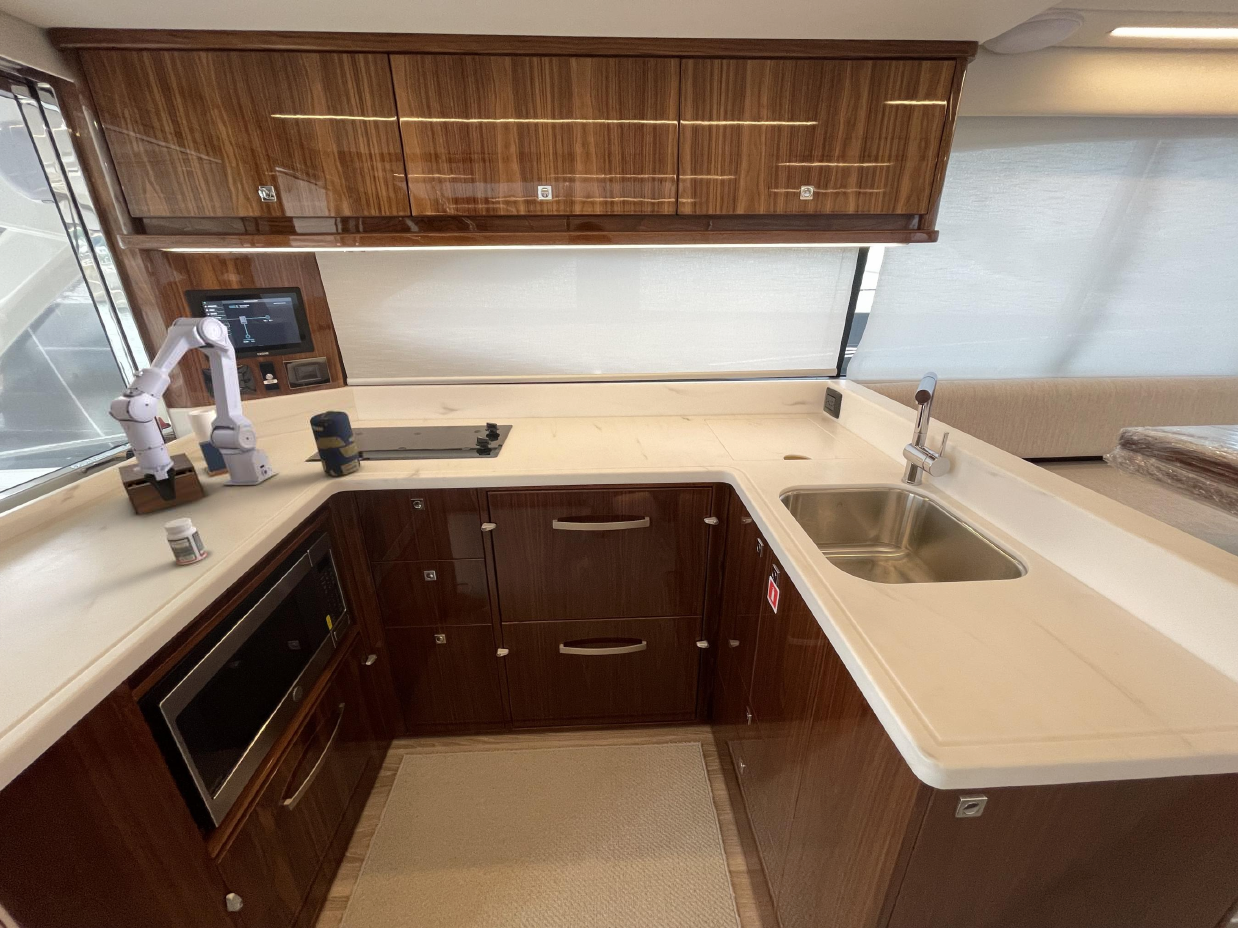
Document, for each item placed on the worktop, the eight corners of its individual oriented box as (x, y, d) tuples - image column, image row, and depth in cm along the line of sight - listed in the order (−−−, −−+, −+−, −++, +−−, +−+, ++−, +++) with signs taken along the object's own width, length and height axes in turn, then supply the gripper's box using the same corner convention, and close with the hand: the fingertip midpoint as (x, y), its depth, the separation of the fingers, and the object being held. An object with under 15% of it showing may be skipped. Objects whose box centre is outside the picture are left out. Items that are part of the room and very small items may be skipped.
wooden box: (205, 496, 131) (193, 465, 128) (136, 514, 122) (122, 482, 119) (195, 481, 141) (184, 452, 138) (131, 497, 132) (118, 467, 129)
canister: (369, 467, 146) (354, 407, 140) (342, 479, 138) (326, 416, 131) (344, 464, 149) (328, 405, 143) (316, 476, 141) (299, 414, 134)
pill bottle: (196, 551, 104) (182, 515, 101) (212, 554, 103) (198, 518, 100) (171, 563, 100) (155, 526, 97) (187, 566, 99) (172, 529, 95)
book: (246, 463, 152) (237, 437, 149) (210, 472, 147) (200, 444, 143) (244, 461, 155) (235, 434, 151) (208, 469, 149) (198, 442, 146)
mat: (251, 466, 151) (251, 465, 151) (211, 476, 144) (210, 475, 144) (244, 459, 157) (244, 458, 157) (205, 468, 151) (204, 467, 151)
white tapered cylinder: (216, 460, 157) (199, 414, 152) (198, 460, 158) (181, 414, 153) (235, 453, 163) (219, 408, 158) (218, 452, 165) (202, 408, 159)
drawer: (204, 498, 127) (195, 474, 125) (140, 516, 119) (128, 490, 117) (194, 483, 138) (185, 460, 135) (134, 498, 129) (123, 474, 127)
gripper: (123, 445, 119) (145, 496, 124) (128, 458, 109) (152, 513, 114) (161, 437, 123) (181, 487, 128) (169, 449, 114) (190, 503, 119)
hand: (170, 499), depth 122 cm, fingers closed
